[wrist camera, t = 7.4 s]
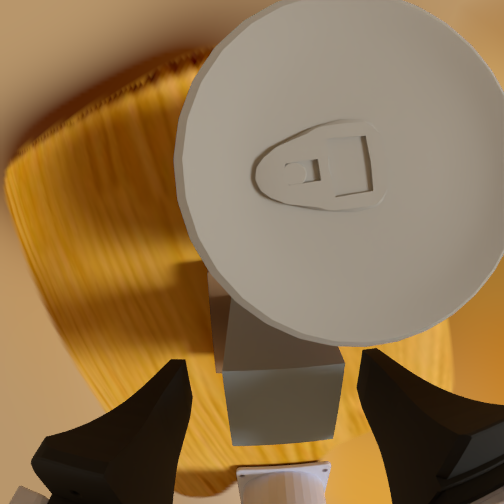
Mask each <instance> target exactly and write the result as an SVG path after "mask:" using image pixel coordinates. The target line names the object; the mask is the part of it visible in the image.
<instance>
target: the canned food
mask: <svg viewBox="0 0 504 504" xmlns="http://www.w3.org/2000/svg"><path fill="white" fill-rule="evenodd" d="M173 160H174V171H175V182H176V191H177V201H178V204H179V207H180V210H181V213H182V216H183V219H184V222H185V225H186V228H187V231H188V234H189V237H190V240H191V242H192V243H193V245H194V247H195V249H196V250H197V252H198V254H199V255H200V257H201V259H202V261H203V262H204V264H205V266H206V267H207V269H208V271H209V272H210V274H211V275H212V276H213V277H214V278H215V279H216V281H217V282H218V283H219V284H220V285H221V286H222V287H223V288H224V289H225V290H226V292H227V293H228V294H229V295H230V296H231V297H232V298H233V299H234V300H235V301H236V302H237V303H238V304H240V305H241V306H242V307H244V308H245V309H246V310H248V311H249V312H251V313H252V314H253V315H255V316H256V317H258V318H259V319H260V320H262V321H263V322H265V323H266V324H268V325H270V326H272V327H274V328H277V329H279V330H281V331H283V332H286V333H288V334H290V335H292V336H295V337H297V338H299V339H304V340H308V341H312V342H317V343H321V344H326V345H330V346H351V347H367V346H374V345H380V344H385V343H391V342H397V341H400V340H402V339H405V338H408V337H411V336H413V335H416V334H419V333H421V332H424V331H426V330H428V329H430V328H432V327H433V326H435V325H437V324H438V323H440V322H442V321H443V320H445V319H447V318H448V317H450V316H451V315H453V314H454V313H455V312H456V311H457V310H459V309H460V308H461V307H462V306H463V305H464V304H466V303H467V302H468V301H469V300H470V299H471V298H472V297H473V296H475V294H476V293H477V292H478V291H479V290H480V288H481V287H482V286H483V285H484V283H485V282H486V281H487V280H488V278H489V277H490V276H491V275H492V273H493V272H494V270H495V269H496V267H497V265H498V263H499V261H500V260H501V258H502V256H503V254H504V92H503V90H502V88H501V86H500V84H499V82H498V81H497V79H496V77H495V75H494V74H493V72H492V70H491V69H490V68H489V66H488V65H487V64H486V63H485V61H484V60H483V59H482V57H481V56H480V55H479V54H478V52H477V51H476V50H475V49H474V48H473V47H472V45H471V44H469V43H468V42H467V41H466V40H465V39H464V38H463V37H462V36H461V35H460V34H458V33H457V32H456V31H455V30H454V29H453V28H451V27H450V26H449V25H448V24H447V23H445V22H443V21H442V20H440V19H439V18H437V17H435V16H434V15H432V14H430V13H429V12H427V11H425V10H423V9H422V8H420V7H418V6H415V5H413V4H411V3H408V2H405V1H403V0H282V1H279V2H276V3H274V4H273V5H271V6H269V7H267V8H266V9H263V10H262V11H260V12H258V13H256V14H255V15H253V16H251V17H250V18H248V19H246V20H244V21H243V22H242V23H241V24H240V25H239V26H237V27H236V28H235V29H234V30H233V31H232V32H231V33H230V34H229V35H228V36H227V37H226V38H225V39H223V40H222V41H221V42H220V43H219V44H218V45H217V46H216V47H215V48H214V50H213V51H212V53H211V54H210V55H209V57H208V58H207V60H206V61H205V63H204V64H203V66H202V67H201V69H200V70H199V72H198V73H197V75H196V77H195V78H194V80H193V82H192V84H191V87H190V89H189V92H188V95H187V97H186V100H185V103H184V105H183V108H182V111H181V114H180V116H179V120H178V127H177V135H176V143H175V151H174V159H173Z"/></svg>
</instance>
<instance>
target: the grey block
mask: <svg viewBox="0 0 504 504" xmlns="http://www.w3.org/2000/svg"><path fill="white" fill-rule="evenodd" d="M344 367H345V362H344V360H343V357H342V355H341V353H340V350H339V348H338V346H330V345H326V344H321V343H317V342H312V341H308V340H304V339H299V338H297V337H295V336H292V335H290V334H288V333H286V332H283V331H281V330H279V329H277V328H274V327H272V326H270V325H268V324H266V323H265V322H263V321H262V320H260V319H259V318H258V317H256V316H255V315H253V314H252V313H251V312H249V311H248V310H246V309H245V308H244V307H242V306H241V305H240V304H238V303H237V302H236V301H235V300H234V299H233V298H232V297H231V304H230V312H229V320H228V328H227V336H226V344H225V352H224V360H223V369H222V374H223V382H224V389H225V397H226V404H227V411H228V418H229V425H230V431H231V438H232V445H233V446H252V445H274V444H288V443H300V442H309V441H318V440H326V439H333V435H334V430H335V425H336V419H337V413H338V407H339V401H340V395H341V388H342V382H343V374H344Z"/></svg>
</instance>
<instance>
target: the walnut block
mask: <svg viewBox="0 0 504 504" xmlns="http://www.w3.org/2000/svg"><path fill="white" fill-rule="evenodd" d="M207 276H208V289H209V302H210V314H211V325H212V336H213V347H214V357H215V367H216V373H222V369H223V360H224V352H225V344H226V336H227V328H228V320H229V312H230V304H231V296H230V295H229V294H228V293H227V292H226V290H225V289H224V288H223V287H222V286H221V285H220V284H219V283H218V282H217V281H216V279H215V278H214V277H213V276H212V275H211V274H210V272H209V271H208V272H207Z"/></svg>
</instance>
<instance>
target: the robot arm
mask: <svg viewBox="0 0 504 504" xmlns="http://www.w3.org/2000/svg"><path fill="white" fill-rule="evenodd" d="M357 391H358V395H359V399H360V402H361V406H362V409H363V411H364V413H365V416H366V418H367V420H368V423H369V425H370V427H371V430H372V432H373V434H374V436H375V439H376V441H377V444H378V446H379V449H380V452H381V455H382V458H383V462H384V466H385V470H386V473H387V477H388V482H389V487H390V492H391V498H392V504H504V405H497V404H489V403H484V402H480V401H475V400H471V399H468V398H464V397H461V396H458V395H456V394H453V393H450V392H448V391H445V390H443V389H441V388H439V387H437V386H434V385H432V384H431V383H429V382H427V381H425V380H423V379H422V378H420V377H418V376H417V375H415V374H413V373H412V372H410V371H409V370H407V369H406V368H404V367H403V366H401V365H400V364H398V363H397V362H396V361H394V360H393V359H391V358H390V357H389V356H387V355H386V354H384V353H383V352H381V351H380V350H378V349H377V348H374V349H366V350H363V351H362V358H361V364H360V371H359V377H358V383H357ZM192 398H193V396H192V391H191V386H190V381H189V376H188V371H187V366H186V361H185V360H182V359H171V360H170V361H169V362H168V363H167V364H166V365H165V366H164V367H163V368H162V369H161V370H160V371H159V372H158V373H157V374H156V375H155V376H154V377H153V378H151V379H150V380H149V381H148V382H147V383H146V384H145V385H144V386H143V387H142V388H141V389H139V390H138V391H137V392H136V393H135V394H134V395H132V396H131V397H130V398H129V399H127V400H126V401H125V402H123V403H122V404H121V405H119V406H118V407H116V408H115V409H113V410H111V411H110V412H108V413H106V414H104V415H103V416H101V417H99V418H97V419H95V420H93V421H91V422H89V423H87V424H85V425H82V426H80V427H77V428H75V429H72V430H69V431H66V432H62V433H59V434H55V435H51V436H47V437H46V438H45V439H44V440H43V442H42V444H41V445H40V447H39V448H38V450H37V452H36V453H35V455H34V456H33V458H32V460H31V465H32V467H33V470H34V472H35V473H36V475H37V476H38V477H39V478H40V480H41V481H42V482H43V483H44V485H46V487H47V488H48V489H49V491H50V492H51V493H52V495H51V497H50V499H48V498H46V497H45V496H43V495H41V494H39V493H36V492H34V491H32V490H30V489H27V488H25V487H23V486H19V487H18V489H17V491H16V493H15V494H14V496H13V498H12V500H11V501H10V503H9V504H173V494H174V485H175V477H176V470H177V464H178V459H179V455H180V452H181V448H182V445H183V441H184V437H185V434H186V430H187V427H188V423H189V419H190V414H191V406H192ZM330 468H331V463H330V462H328V461H324V462H316V463H307V464H296V465H283V466H266V467H239V468H237V469H236V475H237V481H238V487H239V493H240V499H241V504H326V500H325V495H324V493H325V489H326V485H327V481H328V477H329V473H330Z"/></svg>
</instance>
